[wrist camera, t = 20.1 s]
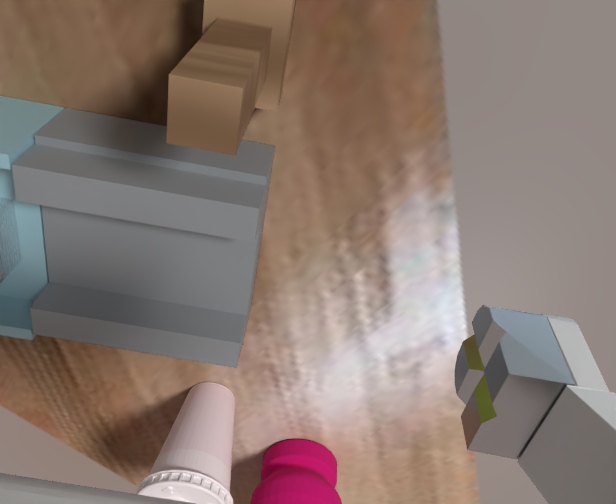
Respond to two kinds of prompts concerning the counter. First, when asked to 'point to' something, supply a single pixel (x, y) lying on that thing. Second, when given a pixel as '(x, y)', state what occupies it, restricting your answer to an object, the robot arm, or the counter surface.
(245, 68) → the brown bar
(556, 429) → the robot arm
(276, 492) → the pepper mill
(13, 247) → the grey cube
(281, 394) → the counter surface
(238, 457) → the counter surface
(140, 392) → the counter surface
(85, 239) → the groove board
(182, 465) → the smoothie
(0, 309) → the tray
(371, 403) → the counter surface
